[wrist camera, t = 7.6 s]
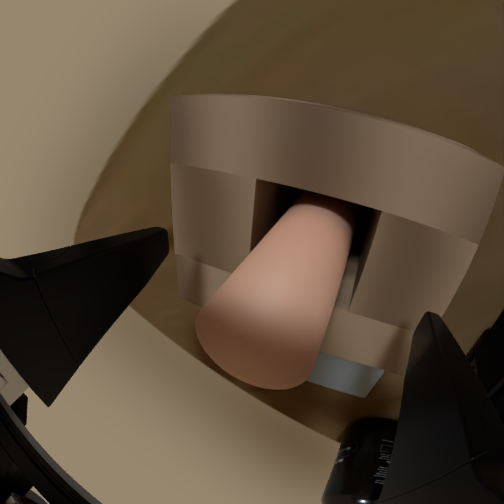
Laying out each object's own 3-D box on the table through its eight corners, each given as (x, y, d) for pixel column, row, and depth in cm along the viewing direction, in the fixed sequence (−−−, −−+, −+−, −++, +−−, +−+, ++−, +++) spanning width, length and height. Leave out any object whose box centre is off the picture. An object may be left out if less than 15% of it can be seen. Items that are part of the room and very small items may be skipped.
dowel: (365, 185, 13) (328, 330, 5) (351, 238, 15) (297, 402, 7) (307, 170, 14) (191, 281, 6) (299, 223, 15) (198, 361, 8)
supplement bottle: (336, 418, 23) (293, 527, 14) (404, 411, 19) (374, 537, 10) (356, 445, 25) (322, 537, 15) (414, 440, 21) (389, 542, 11)
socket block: (465, 145, 10) (505, 167, 6) (404, 309, 15) (401, 374, 11) (231, 93, 13) (170, 96, 9) (224, 252, 19) (179, 297, 15)
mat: (415, 319, 15) (415, 323, 15) (365, 394, 20) (364, 398, 20) (237, 263, 19) (234, 266, 18) (232, 348, 24) (230, 352, 23)
